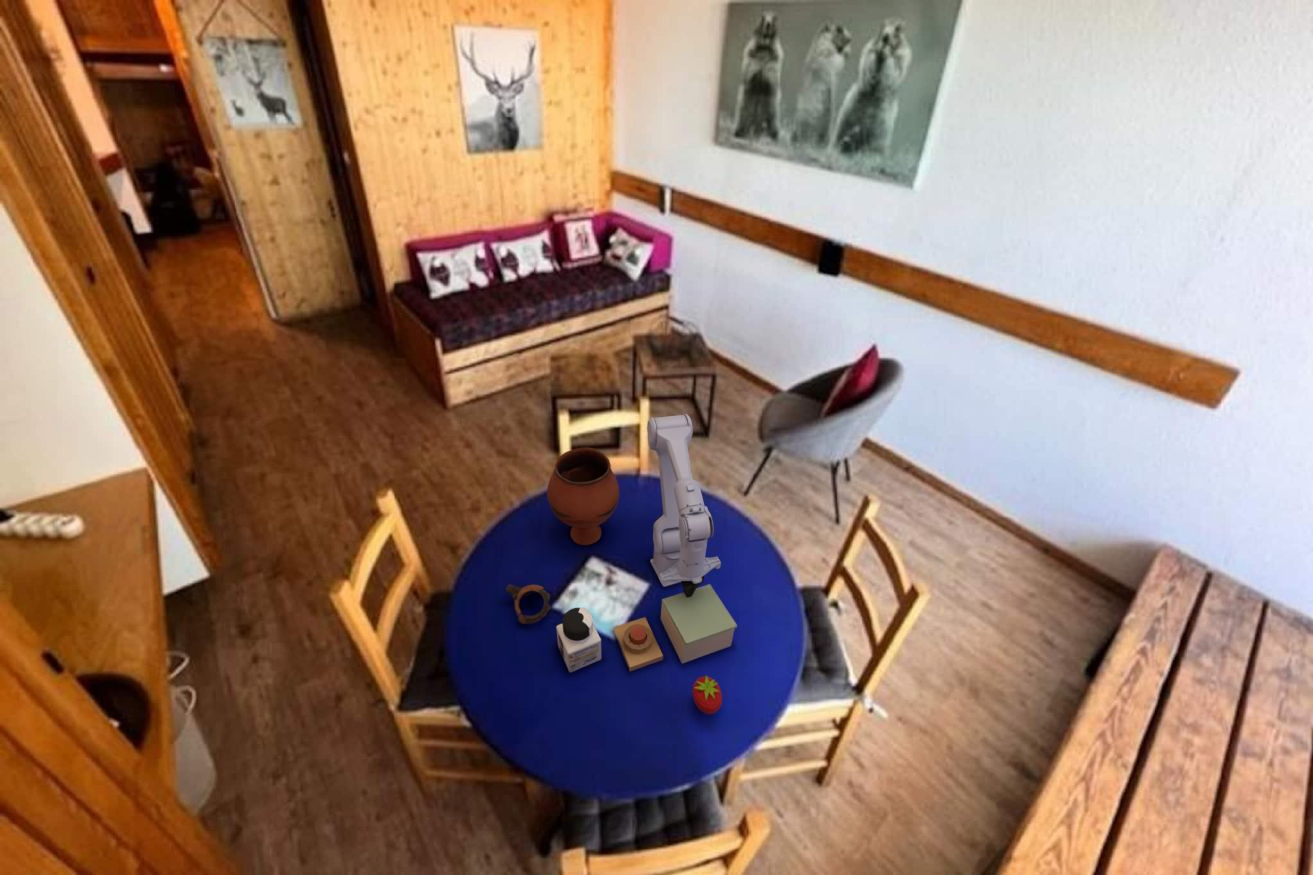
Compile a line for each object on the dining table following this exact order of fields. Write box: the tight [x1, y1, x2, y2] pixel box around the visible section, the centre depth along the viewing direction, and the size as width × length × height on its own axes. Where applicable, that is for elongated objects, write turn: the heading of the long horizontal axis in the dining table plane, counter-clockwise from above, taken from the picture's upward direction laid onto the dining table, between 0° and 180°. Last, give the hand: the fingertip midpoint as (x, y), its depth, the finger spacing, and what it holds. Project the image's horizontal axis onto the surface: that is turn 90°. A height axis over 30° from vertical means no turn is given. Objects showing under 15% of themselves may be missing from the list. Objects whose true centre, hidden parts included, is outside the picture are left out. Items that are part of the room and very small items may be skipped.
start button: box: [630, 626, 646, 644], centre depth 131 cm, size 4×4×2 cm
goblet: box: [546, 447, 620, 546], centre depth 153 cm, size 19×19×25 cm
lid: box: [661, 583, 738, 646], centre depth 132 cm, size 13×13×1 cm
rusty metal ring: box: [505, 583, 552, 625], centre depth 138 cm, size 12×10×8 cm
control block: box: [613, 616, 664, 672], centre depth 132 cm, size 11×8×4 cm
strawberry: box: [692, 674, 723, 715], centre depth 119 cm, size 6×8×10 cm
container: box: [555, 606, 602, 673], centre depth 127 cm, size 8×8×13 cm
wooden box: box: [660, 602, 735, 664], centre depth 135 cm, size 13×13×7 cm
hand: (687, 593), depth 136 cm, fingers closed
